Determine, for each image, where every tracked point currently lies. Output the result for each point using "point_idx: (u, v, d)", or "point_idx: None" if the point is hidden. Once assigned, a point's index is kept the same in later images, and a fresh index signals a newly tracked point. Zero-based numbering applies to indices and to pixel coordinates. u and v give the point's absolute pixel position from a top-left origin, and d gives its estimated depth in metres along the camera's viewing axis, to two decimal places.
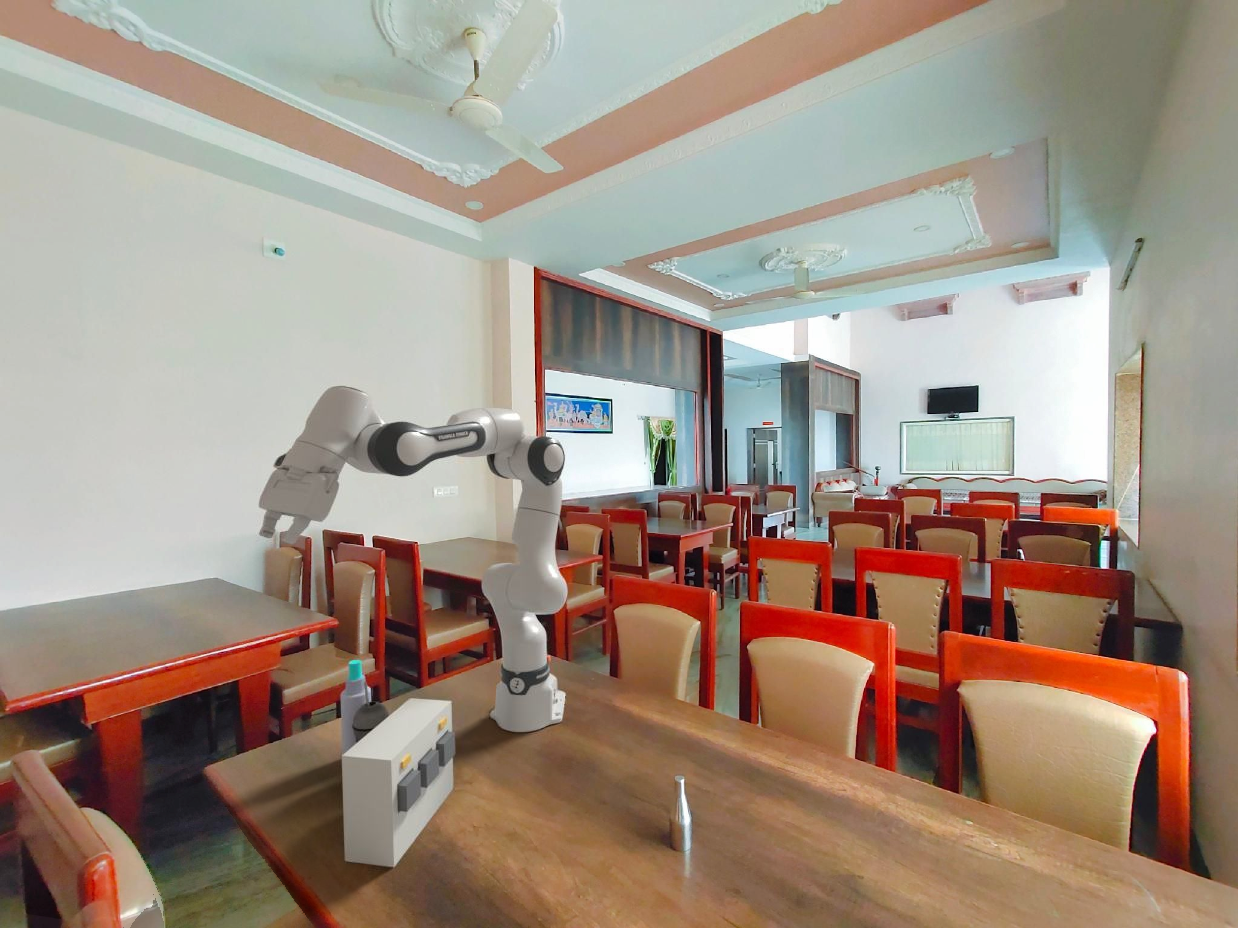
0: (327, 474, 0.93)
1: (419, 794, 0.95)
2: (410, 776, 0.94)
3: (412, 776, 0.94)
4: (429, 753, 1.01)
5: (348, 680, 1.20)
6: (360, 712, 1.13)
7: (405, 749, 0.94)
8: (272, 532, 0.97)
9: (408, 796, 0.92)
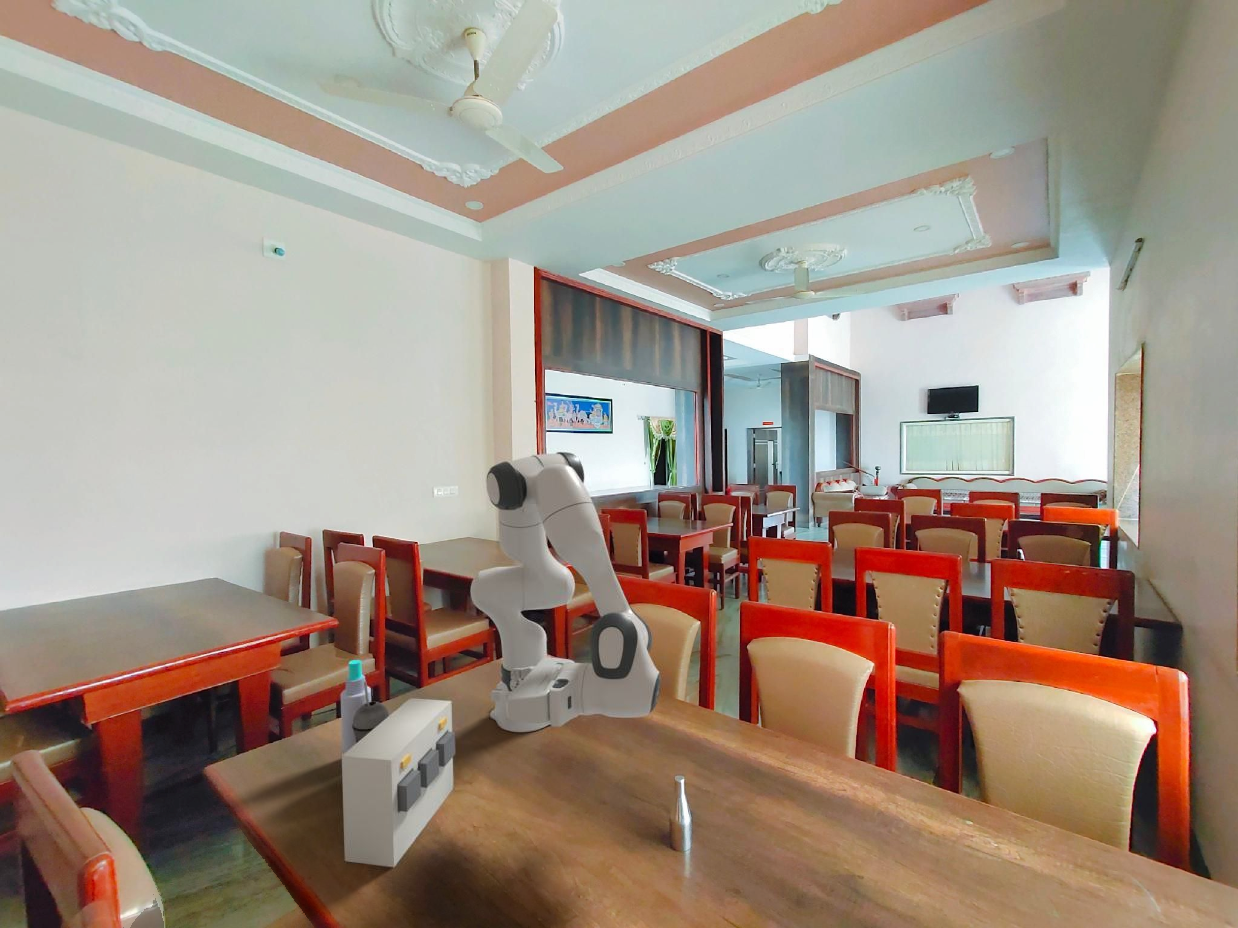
0: None
1: (419, 794, 0.95)
2: (410, 776, 0.94)
3: (412, 776, 0.94)
4: (429, 753, 1.01)
5: (348, 680, 1.20)
6: (360, 712, 1.13)
7: (405, 749, 0.94)
8: None
9: (408, 796, 0.92)
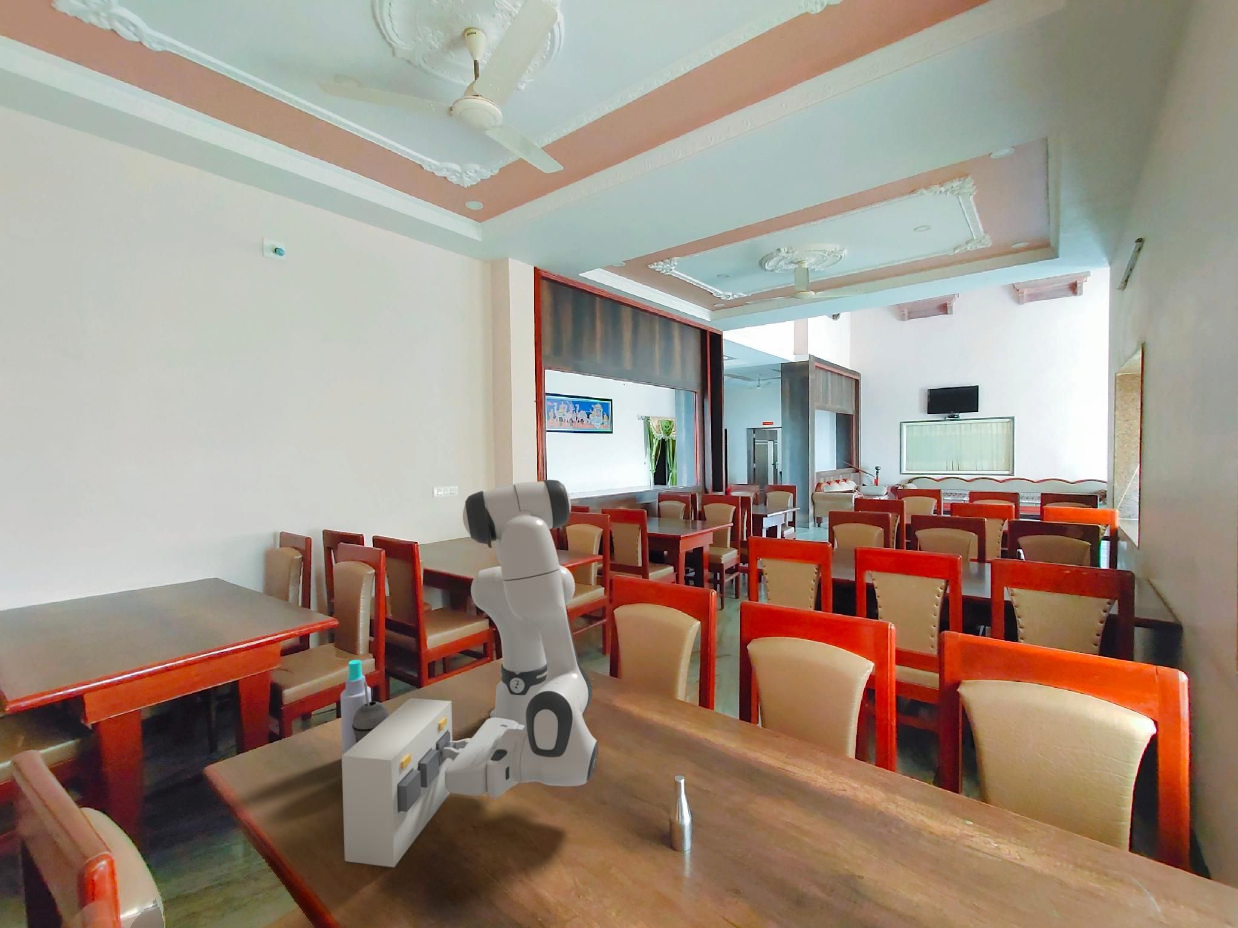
0: None
1: (419, 794, 0.95)
2: (410, 776, 0.94)
3: (412, 776, 0.94)
4: (429, 753, 1.01)
5: (348, 680, 1.20)
6: (360, 712, 1.13)
7: (405, 749, 0.94)
8: None
9: (408, 796, 0.92)
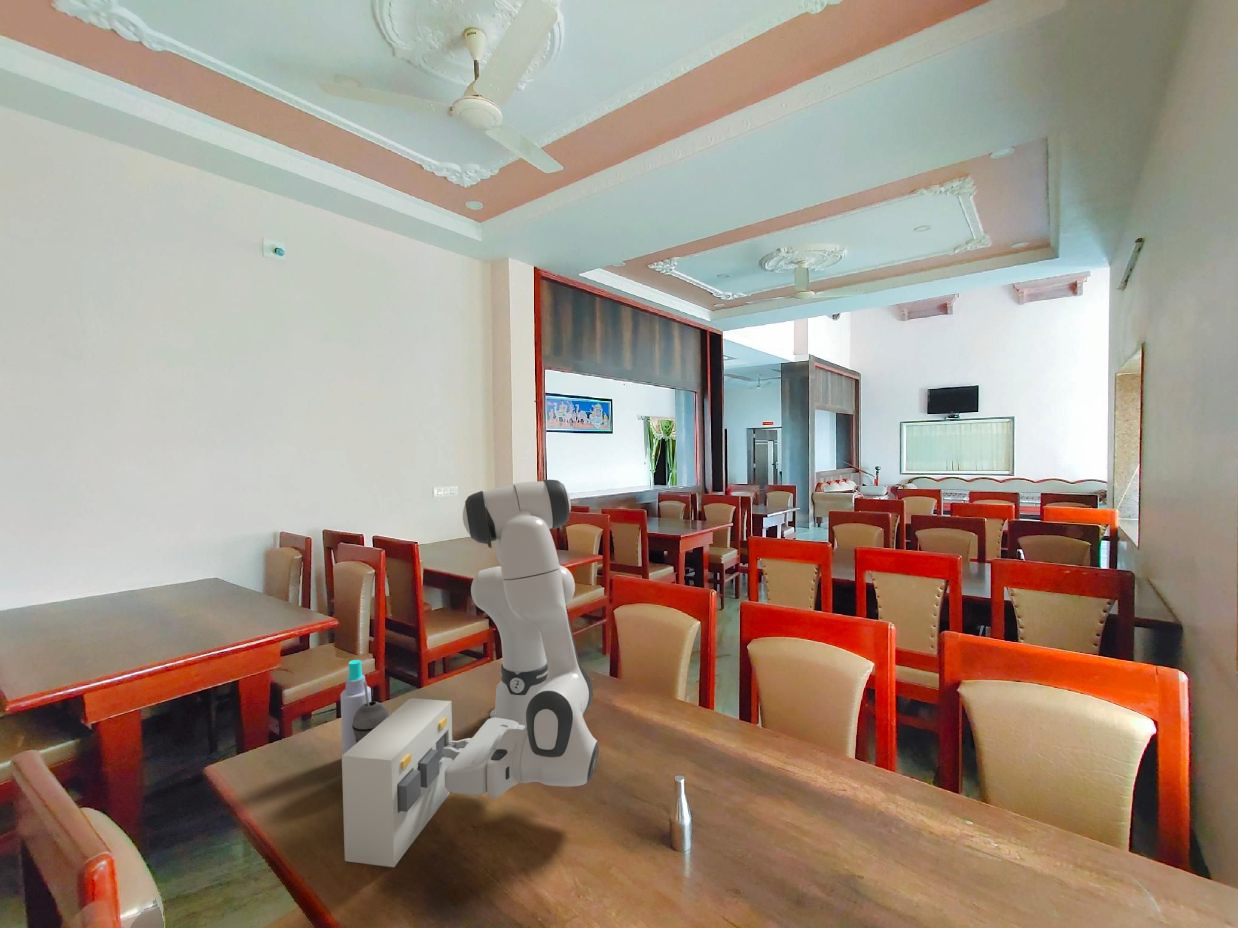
0: None
1: (419, 794, 0.95)
2: (410, 776, 0.94)
3: (412, 776, 0.94)
4: (429, 753, 1.01)
5: (348, 680, 1.20)
6: (360, 712, 1.13)
7: (405, 749, 0.94)
8: None
9: (408, 796, 0.92)
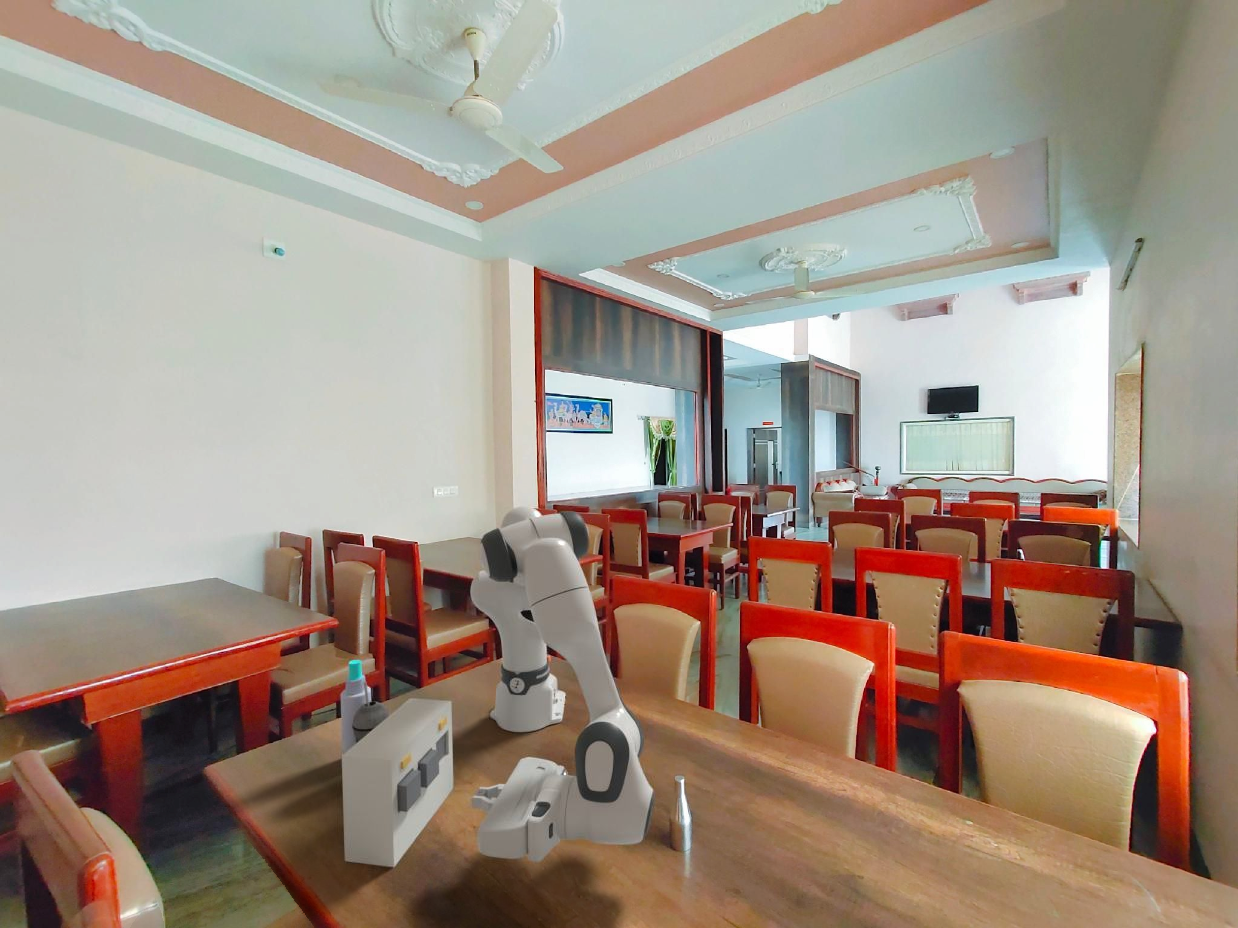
0: None
1: (419, 794, 0.95)
2: (410, 776, 0.94)
3: (412, 776, 0.94)
4: (429, 753, 1.01)
5: (348, 680, 1.20)
6: (360, 712, 1.13)
7: (405, 749, 0.94)
8: None
9: (408, 796, 0.92)
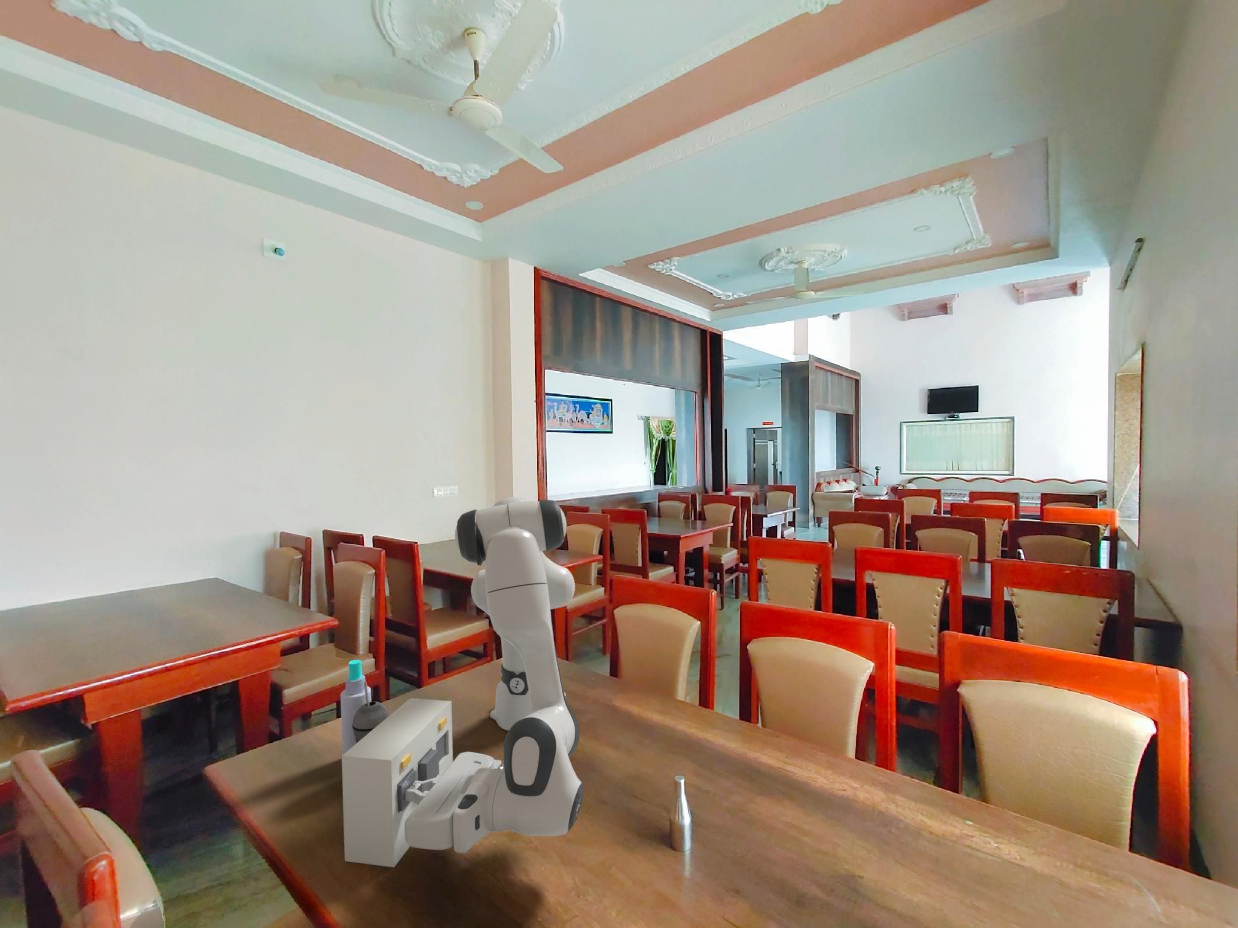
0: None
1: None
2: (406, 775, 0.94)
3: (407, 775, 0.94)
4: (429, 753, 1.01)
5: (348, 680, 1.20)
6: (360, 712, 1.13)
7: (405, 749, 0.94)
8: None
9: (403, 795, 0.92)
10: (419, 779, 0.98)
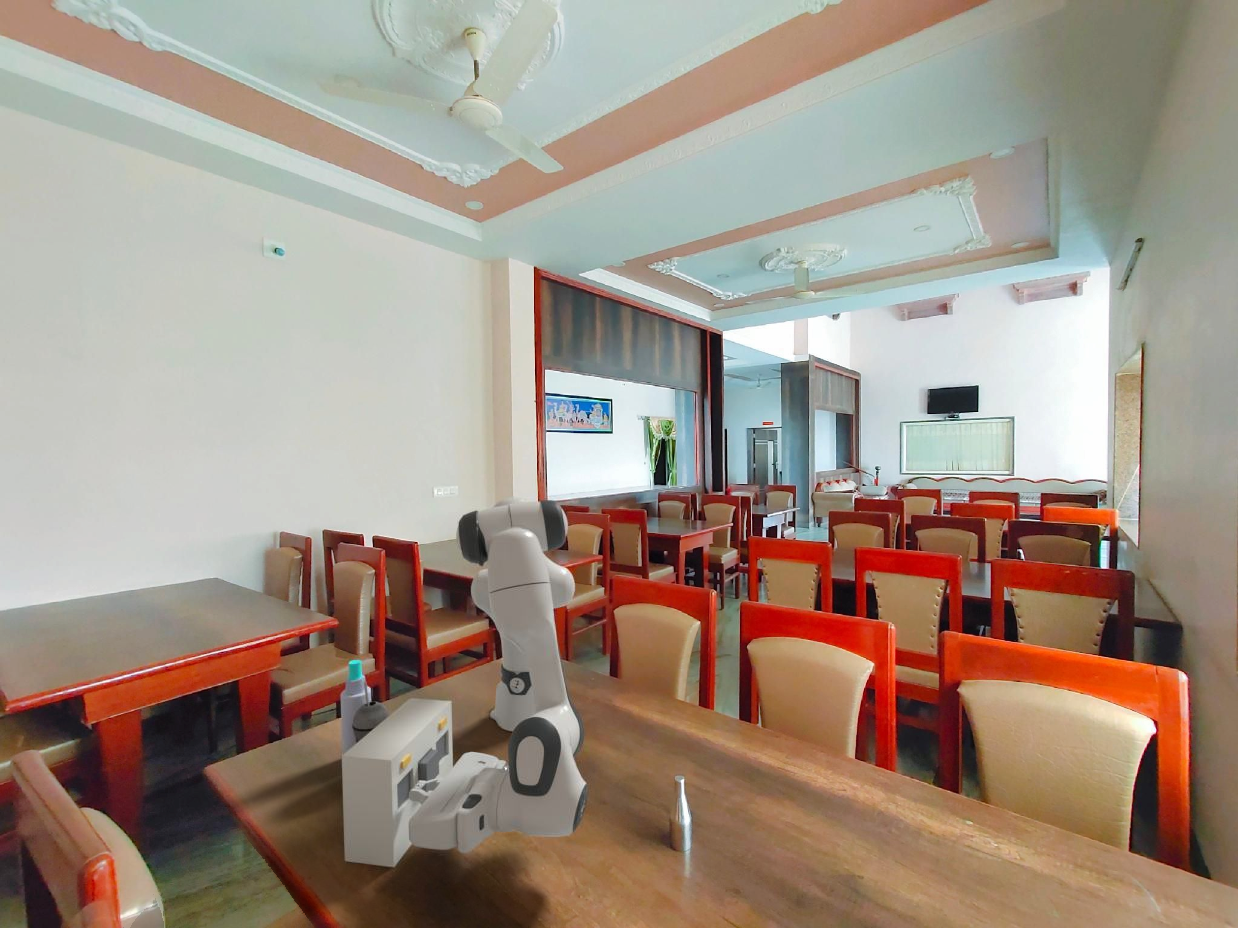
0: None
1: (408, 793, 0.96)
2: None
3: None
4: (429, 753, 1.01)
5: (348, 680, 1.20)
6: (360, 712, 1.13)
7: (405, 749, 0.94)
8: None
9: (397, 795, 0.93)
10: (419, 779, 0.98)
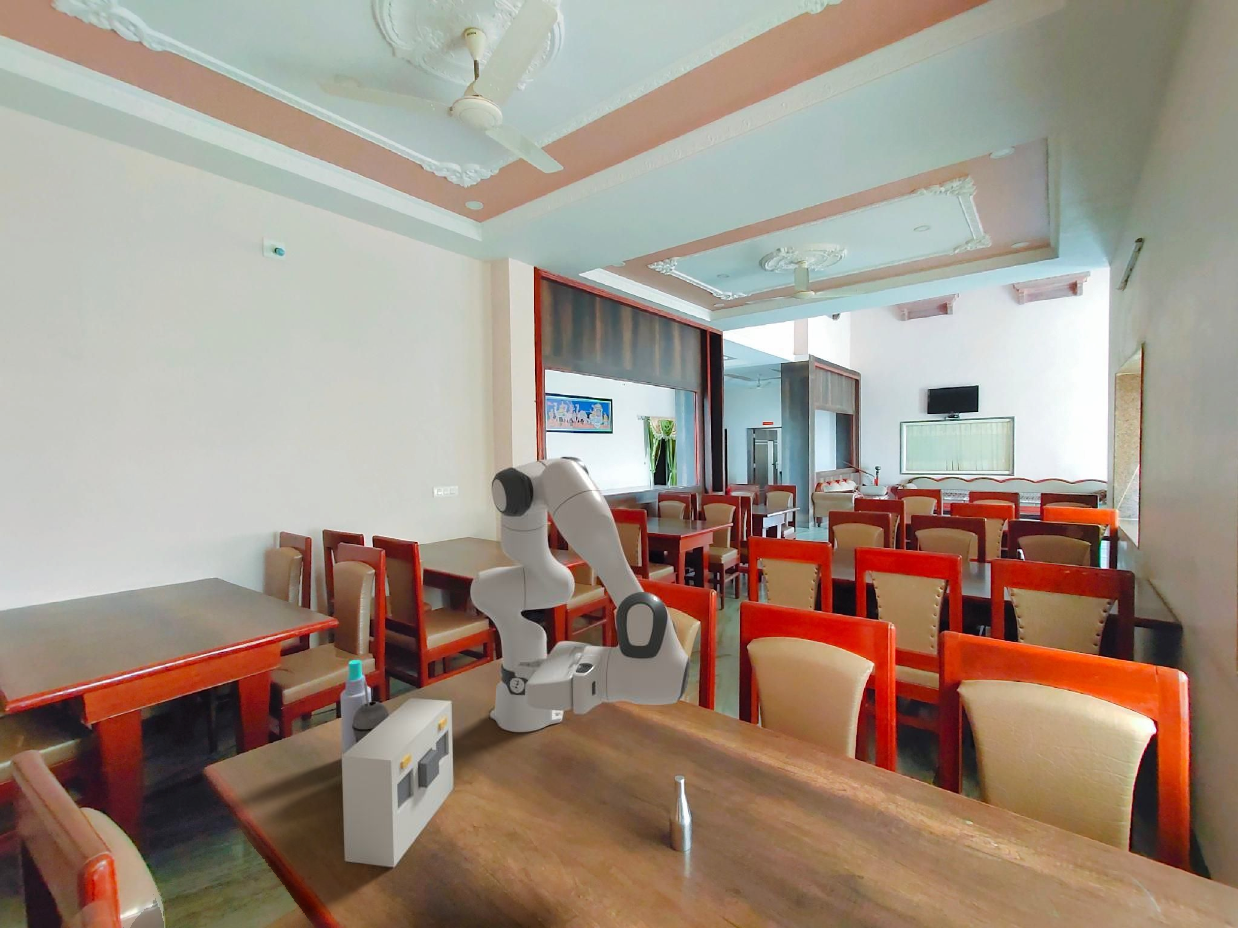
0: None
1: (408, 793, 0.96)
2: None
3: None
4: (429, 753, 1.01)
5: (348, 680, 1.20)
6: (360, 712, 1.13)
7: (405, 749, 0.94)
8: None
9: (397, 795, 0.93)
10: (419, 779, 0.98)
